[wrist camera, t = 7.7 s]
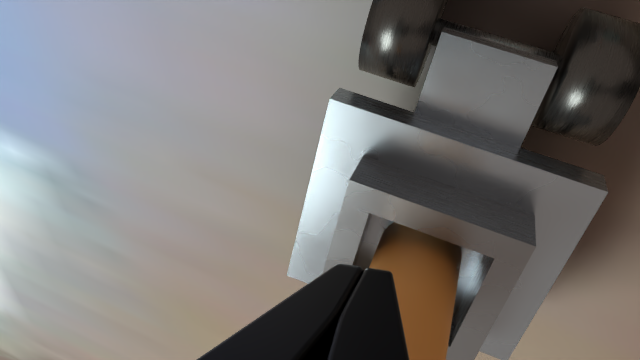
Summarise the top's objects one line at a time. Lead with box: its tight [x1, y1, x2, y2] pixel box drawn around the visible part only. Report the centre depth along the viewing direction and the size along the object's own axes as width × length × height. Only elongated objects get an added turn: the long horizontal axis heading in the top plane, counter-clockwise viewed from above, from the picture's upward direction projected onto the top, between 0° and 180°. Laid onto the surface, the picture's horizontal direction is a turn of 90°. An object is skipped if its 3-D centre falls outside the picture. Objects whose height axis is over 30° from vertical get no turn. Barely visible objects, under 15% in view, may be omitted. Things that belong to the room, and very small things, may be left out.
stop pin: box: [369, 222, 462, 360], centre depth 15 cm, size 3×3×7 cm
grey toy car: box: [287, 0, 640, 360], centre depth 18 cm, size 8×12×6 cm, turn 167°
